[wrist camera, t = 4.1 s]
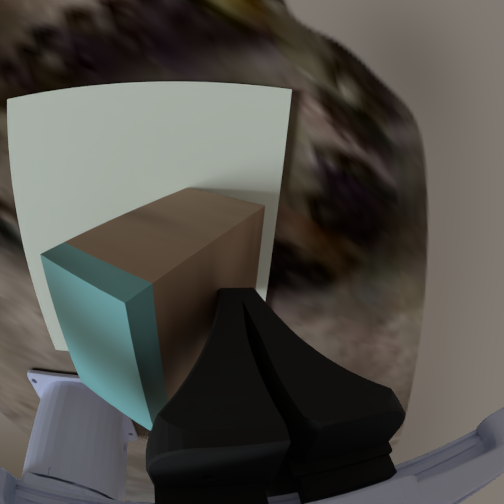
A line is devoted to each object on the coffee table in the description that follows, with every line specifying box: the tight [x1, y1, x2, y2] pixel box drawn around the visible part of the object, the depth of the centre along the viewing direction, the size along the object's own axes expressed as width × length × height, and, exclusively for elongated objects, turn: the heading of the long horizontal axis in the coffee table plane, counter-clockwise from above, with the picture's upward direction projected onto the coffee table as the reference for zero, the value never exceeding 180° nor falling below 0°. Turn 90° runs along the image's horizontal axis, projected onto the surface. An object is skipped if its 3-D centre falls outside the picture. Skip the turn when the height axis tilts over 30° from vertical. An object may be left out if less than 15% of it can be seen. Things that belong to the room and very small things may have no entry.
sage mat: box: [7, 82, 292, 351], centre depth 16 cm, size 16×14×1 cm
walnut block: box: [40, 188, 265, 431], centre depth 12 cm, size 6×4×8 cm
